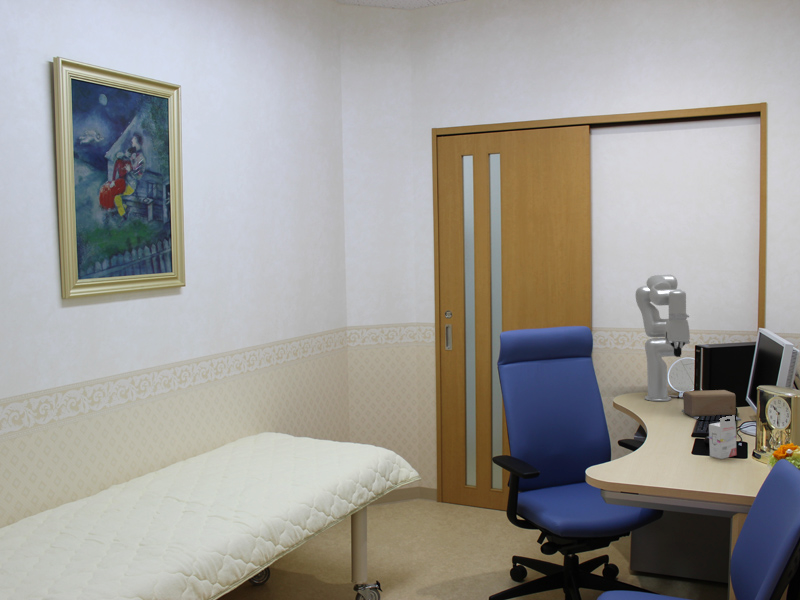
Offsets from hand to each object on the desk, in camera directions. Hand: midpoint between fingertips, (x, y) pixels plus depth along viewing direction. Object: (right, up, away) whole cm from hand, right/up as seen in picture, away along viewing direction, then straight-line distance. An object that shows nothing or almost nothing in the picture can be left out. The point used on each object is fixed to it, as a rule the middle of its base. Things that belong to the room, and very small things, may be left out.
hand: (677, 356), depth 311 cm
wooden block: (+1, -21, -7) cm, 22 cm away
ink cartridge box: (-14, -30, -72) cm, 79 cm away
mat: (+12, -26, -8) cm, 30 cm away
